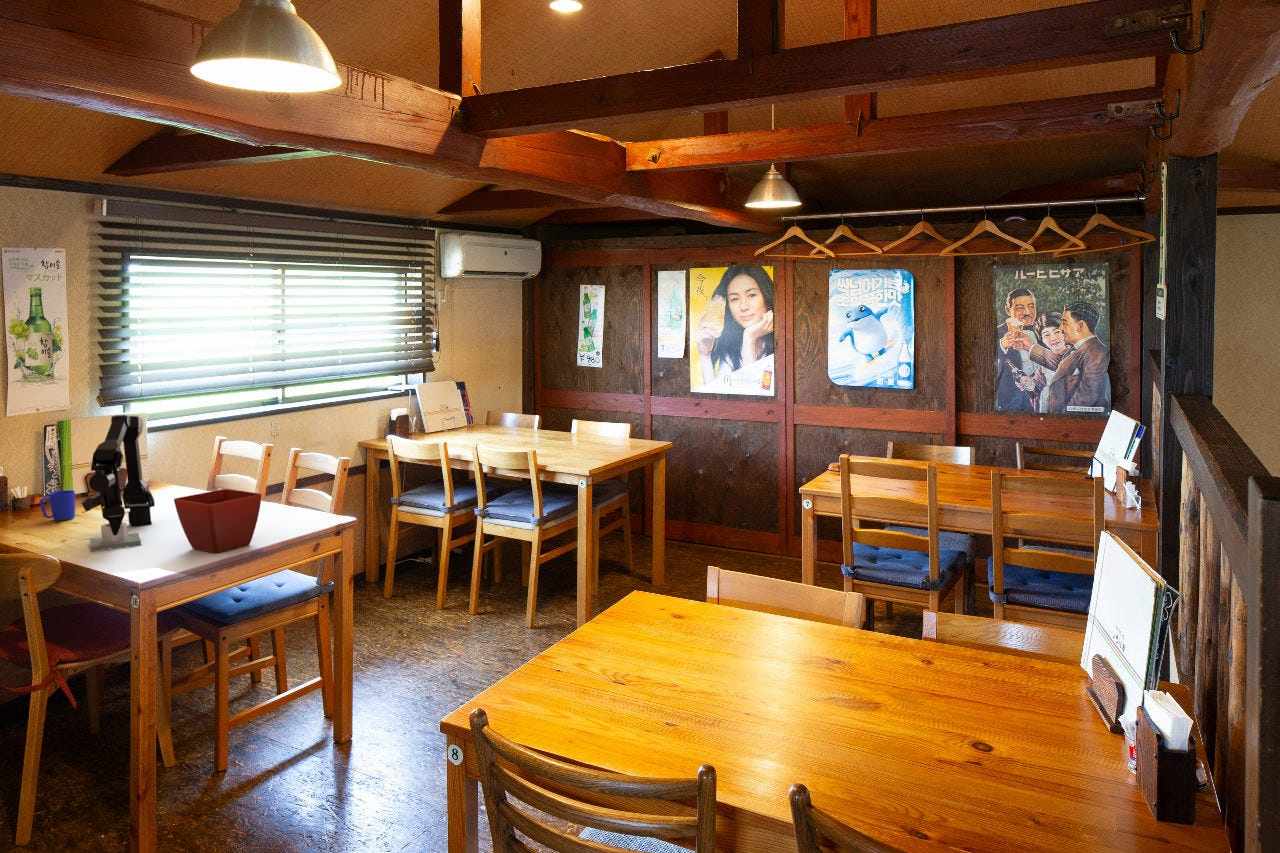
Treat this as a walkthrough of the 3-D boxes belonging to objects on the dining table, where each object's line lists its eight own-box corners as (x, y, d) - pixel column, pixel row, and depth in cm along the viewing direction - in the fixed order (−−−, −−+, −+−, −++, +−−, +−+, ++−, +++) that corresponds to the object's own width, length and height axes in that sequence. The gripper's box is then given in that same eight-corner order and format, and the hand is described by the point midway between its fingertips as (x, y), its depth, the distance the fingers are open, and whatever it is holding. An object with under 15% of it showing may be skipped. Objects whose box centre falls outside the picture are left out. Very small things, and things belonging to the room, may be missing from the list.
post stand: (138, 537, 307) (137, 518, 306) (141, 545, 297) (139, 525, 296) (90, 543, 300) (88, 523, 299) (91, 551, 290) (89, 531, 289)
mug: (35, 523, 328) (32, 496, 327) (67, 515, 339) (64, 489, 338) (50, 525, 325) (48, 497, 324) (82, 517, 336) (80, 491, 335)
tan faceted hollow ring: (126, 535, 303) (125, 521, 303) (128, 540, 297) (126, 525, 296) (101, 538, 299) (100, 524, 299) (102, 543, 293) (101, 528, 293)
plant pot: (229, 536, 307) (225, 487, 305) (266, 543, 298) (263, 493, 295) (176, 550, 291) (172, 498, 289) (213, 558, 281) (209, 504, 279)
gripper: (81, 483, 299) (85, 529, 302) (81, 493, 284) (86, 542, 286) (119, 479, 305) (123, 525, 307) (122, 489, 290) (126, 537, 292)
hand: (114, 532), depth 298 cm, fingers open, 9 cm apart
